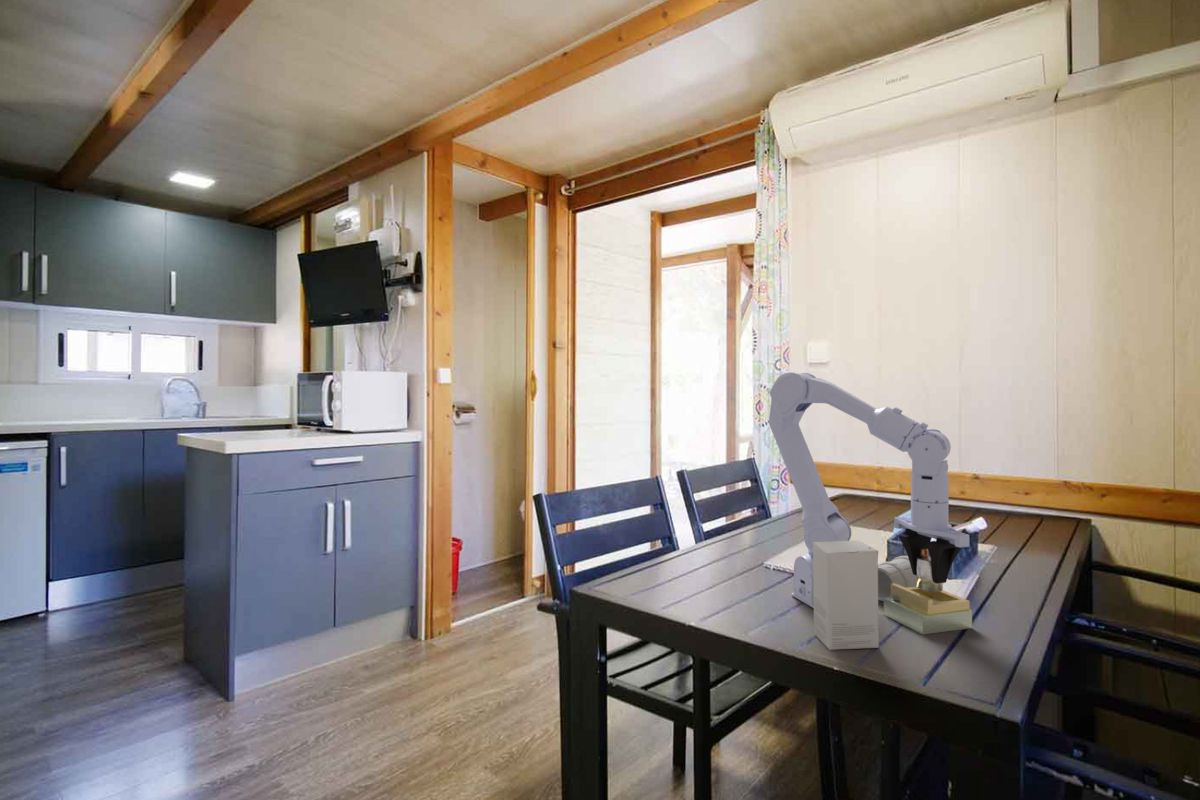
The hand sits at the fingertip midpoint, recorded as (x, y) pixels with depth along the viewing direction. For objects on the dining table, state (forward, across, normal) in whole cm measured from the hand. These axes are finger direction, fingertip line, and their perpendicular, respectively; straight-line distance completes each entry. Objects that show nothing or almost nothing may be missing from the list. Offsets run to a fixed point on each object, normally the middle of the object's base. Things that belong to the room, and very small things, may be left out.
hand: (929, 578), depth 104 cm
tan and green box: (+7, 0, 0) cm, 7 cm away
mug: (+4, +14, -8) cm, 17 cm away
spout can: (+2, 0, 0) cm, 2 cm away
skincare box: (+8, -4, +20) cm, 21 cm away
